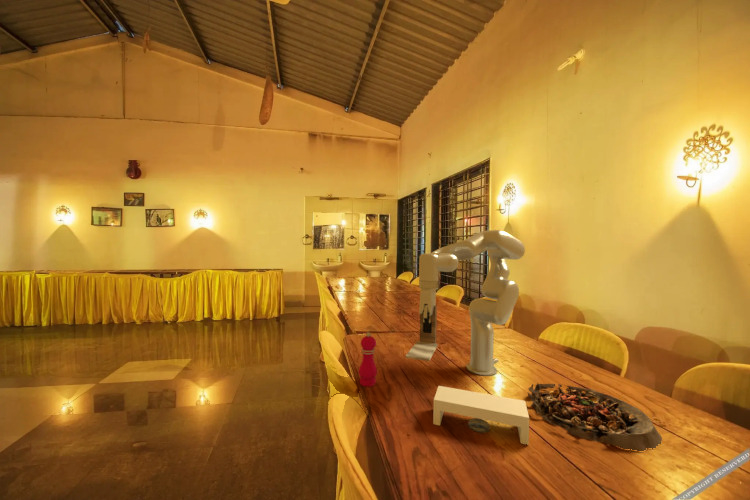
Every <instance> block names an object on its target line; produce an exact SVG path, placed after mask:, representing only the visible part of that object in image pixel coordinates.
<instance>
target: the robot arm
mask: <svg viewBox="0 0 750 500" xmlns="http://www.w3.org/2000/svg"><path fill="white" fill-rule="evenodd" d="M485 252H487V255H488V259H489V263H490V267H489V271H488V273H487V275H486V277H485V280H484V282H483V284H482V286H481V294H482V295H483V296H484V297H485V298H480V297H479V298H475V299H473V300H472V301H470V303H469V306H468V312H469V318H470V362H469V363H467V364H466V369H467V370H468V371H469V372H471V373H472V374H476V375H480V376H494V375H496V374H497V373H498V369H497V368H496V367H495V364H496V363H499V359H498V358H497V357H496V358H494V342H495V341H494V340H495V339H494V336H495V331H494V327H493V324H494V325H499V326H502V325H505V324H506V323H507V322H508V321H509V320H510V317H511V315H512V312H513V311H514V309H515V306H516V304H517V302H518V298H519V294H520V289H519V285H518V284H517V282H515V281H513V280H511V279H508V278H509V276H510V267H509V265H508V263H507V260H520V259H521V258H523V256H525V252H526V248H525V245H524V243H523V242H522V240H519V239H518V238H517V237H515V236H513V235H512V234H510V233H508V232H506V231H504V230H502V229H493V230H482V231H479V232H478V233H477V232H476V233H475V234H473V235H471V236H470V237H468V238H466V239H464V240H461V241H457V242H454V243H451V244H449V245H445V246H442V247H439V248H438V249H436V250H434V251H432V252H430V253H421V254H420V255H419V258H418V259H419V261H418V262H419V263H418V264H419V265H418V289H419V290H420V293H419V306H418V307H419V309H418V313H419V316H420V315H421V314H422V313H423V310H424V313H423V332H424V333H431V332H432V323H431V315H432V314H433V309H434V306H435V305H436V303H437V302H436V301H437V300H436V299H437V298H436V297H437V294H436V293H437V292H436V291H437V290H439V276H440V275H439V274H440V272H444V273H451V272H454V271H455V270H456V269H457V268H458V267H459V261H467V260H472V259H474V258H475V257H477V256H479V255H480V254H483V253H485ZM429 312H430V313H429ZM428 313H429V314H430V315H428ZM428 316H429V317H428Z"/></svg>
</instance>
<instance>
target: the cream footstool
mask: <svg viewBox="0 0 750 500" xmlns="http://www.w3.org/2000/svg"><path fill="white" fill-rule="evenodd" d="M528 411H529V410H528V408H527V403H526V400H522V399H517V398H513V397H511V398H510V397H506V396H500V395H495V394H489V393H484V392H478V391H476V392H475V391H473V390H466V389H460V388H453V387H448V386H444V385H443V386H442V385H438V386H437V389H436V393H435V395H434V397H433V417H432V420H433V421H432V422H433V423H432V424H433V425H436V426H441V423H442V419H443V417H444V415H443V414H444V412H445V413H449V414H454V415H460V416H465V417H470V418H478V419H482V420H485V421H489V422H494V423H499V424H505V425H508V426H513V427H514V426H515V427H517V431H518V435H519V441H520V444H523V445H526V444H527V445H526V446H529V443H530V442H529V440H530V416H529V412H528Z"/></svg>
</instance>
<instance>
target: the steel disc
mask: <svg viewBox="0 0 750 500" xmlns="http://www.w3.org/2000/svg"><path fill="white" fill-rule="evenodd" d="M467 425H468V427H469V429H470V430H471V431H473V432H476V433H478V434H479V433H481V434H485V433H488V432H489V431H490V424H489V423H488V422H487V420H483V419H478V418H474V417H471V418H470V419H469V420H468V423H467Z"/></svg>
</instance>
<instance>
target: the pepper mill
mask: <svg viewBox="0 0 750 500" xmlns="http://www.w3.org/2000/svg"><path fill="white" fill-rule="evenodd" d="M365 335H366V336H364V337H362V338H361V340H360V347H361V353H362V361H361V363H360V365H359V367H358V375H359V384H360V386H363V387H368V388H370V387H373V386H375V385H376V381H377V379H376V376H377V374H378V369H377V366H376V363H375V361H374V353H375V347H376V345H377V342H376V338H374V336H372V334H371V332H368V331H367V332H366V334H365Z"/></svg>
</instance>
